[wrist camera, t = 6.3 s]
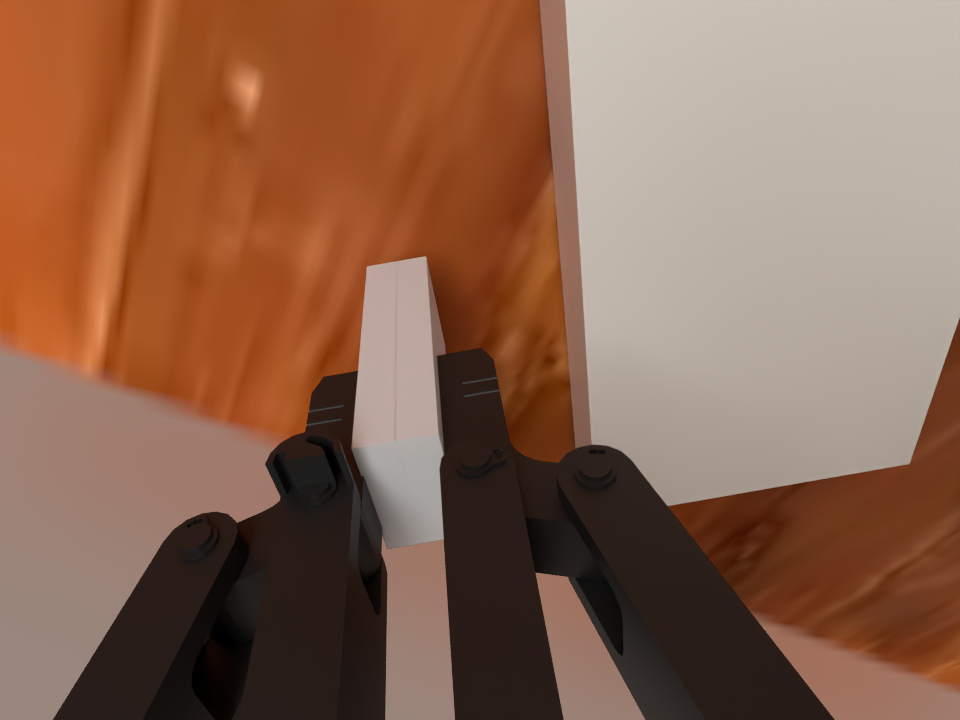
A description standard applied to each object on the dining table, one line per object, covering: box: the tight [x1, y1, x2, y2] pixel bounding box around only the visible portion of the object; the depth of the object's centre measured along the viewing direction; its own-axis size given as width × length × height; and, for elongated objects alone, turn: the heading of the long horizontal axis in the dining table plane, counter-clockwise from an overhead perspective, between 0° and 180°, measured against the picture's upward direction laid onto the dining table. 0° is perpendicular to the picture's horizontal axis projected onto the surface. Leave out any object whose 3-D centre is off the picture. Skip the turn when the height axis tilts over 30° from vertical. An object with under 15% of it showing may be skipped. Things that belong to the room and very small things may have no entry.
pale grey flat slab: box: [539, 0, 960, 506], centre depth 17 cm, size 16×10×3 cm, turn 8°
